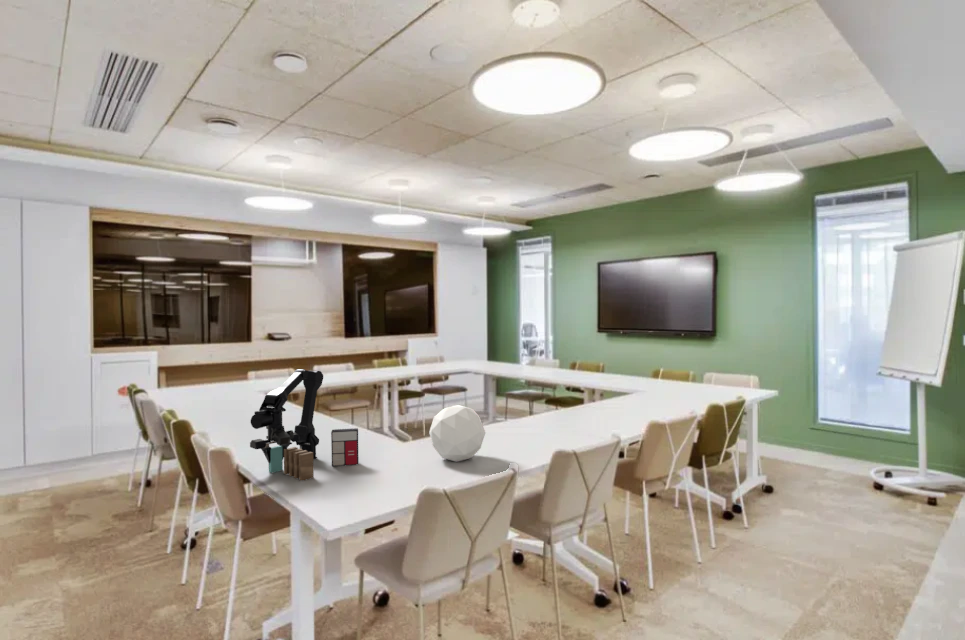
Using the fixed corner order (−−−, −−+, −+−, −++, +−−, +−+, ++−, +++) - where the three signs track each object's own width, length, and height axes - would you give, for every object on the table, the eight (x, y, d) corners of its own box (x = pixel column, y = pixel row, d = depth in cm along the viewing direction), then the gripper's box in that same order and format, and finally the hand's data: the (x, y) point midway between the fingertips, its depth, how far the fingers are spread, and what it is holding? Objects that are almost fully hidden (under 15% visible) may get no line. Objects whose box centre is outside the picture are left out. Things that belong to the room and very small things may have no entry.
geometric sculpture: (463, 482, 228) (460, 445, 212) (421, 454, 240) (415, 417, 224) (496, 446, 242) (495, 409, 226) (454, 421, 254) (451, 385, 239)
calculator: (331, 467, 223) (331, 431, 223) (332, 464, 227) (331, 429, 227) (358, 465, 225) (357, 430, 225) (358, 462, 230) (358, 428, 229)
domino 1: (268, 472, 217) (268, 447, 217) (280, 469, 221) (279, 445, 221) (271, 473, 216) (270, 448, 215) (282, 470, 219) (282, 446, 219)
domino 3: (289, 475, 212) (288, 450, 212) (300, 472, 216) (300, 448, 215) (291, 476, 210) (291, 451, 210) (303, 473, 214) (302, 449, 214)
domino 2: (284, 473, 214) (283, 449, 214) (295, 470, 218) (295, 446, 218) (286, 474, 213) (286, 450, 213) (298, 471, 217) (297, 447, 217)
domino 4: (294, 477, 209) (293, 452, 209) (305, 474, 213) (305, 450, 213) (296, 478, 208) (296, 453, 208) (308, 475, 212) (307, 450, 211)
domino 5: (299, 479, 206) (298, 454, 206) (310, 476, 210) (310, 451, 210) (301, 480, 205) (301, 455, 205) (313, 477, 209) (313, 452, 209)
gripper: (261, 430, 206) (262, 470, 206) (305, 422, 219) (306, 460, 220) (249, 426, 213) (249, 465, 213) (292, 419, 227) (292, 455, 227)
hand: (275, 461), depth 218 cm, fingers closed on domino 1, 5 cm apart
